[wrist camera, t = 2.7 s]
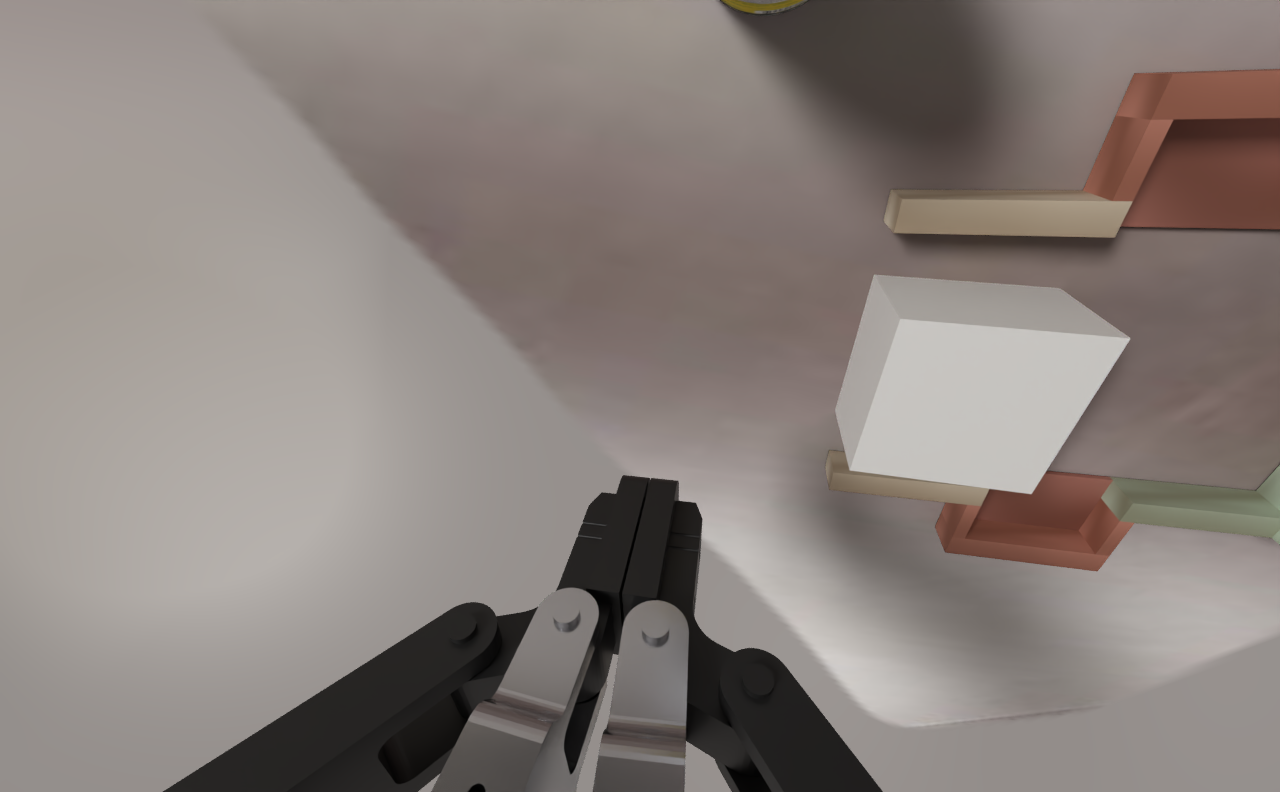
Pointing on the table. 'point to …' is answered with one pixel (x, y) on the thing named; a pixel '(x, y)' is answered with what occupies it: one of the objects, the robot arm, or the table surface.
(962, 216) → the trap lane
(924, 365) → the grey block
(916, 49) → the table surface
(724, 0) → the supplement bottle
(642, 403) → the table surface
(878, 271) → the table surface
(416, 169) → the table surface
